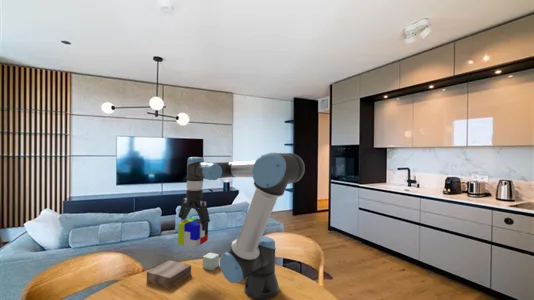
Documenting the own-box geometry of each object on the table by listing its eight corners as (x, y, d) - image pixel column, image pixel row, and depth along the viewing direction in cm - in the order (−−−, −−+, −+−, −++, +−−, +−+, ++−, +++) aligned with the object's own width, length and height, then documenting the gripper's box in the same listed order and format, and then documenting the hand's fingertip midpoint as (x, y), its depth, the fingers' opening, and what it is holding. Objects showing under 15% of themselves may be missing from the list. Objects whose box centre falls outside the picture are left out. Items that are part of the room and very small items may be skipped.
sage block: (218, 265, 135) (219, 254, 135) (211, 270, 130) (212, 258, 130) (209, 263, 138) (210, 252, 138) (202, 268, 132) (202, 256, 132)
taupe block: (190, 275, 125) (191, 265, 125) (169, 289, 112) (170, 278, 112) (169, 269, 130) (169, 260, 130) (146, 282, 118) (146, 271, 118)
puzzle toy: (196, 247, 116) (196, 226, 116) (177, 244, 119) (178, 223, 119) (207, 240, 126) (208, 220, 126) (190, 237, 129) (191, 217, 129)
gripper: (218, 190, 120) (217, 236, 120) (182, 185, 131) (181, 228, 131) (208, 193, 113) (206, 241, 114) (171, 187, 124) (169, 232, 124)
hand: (193, 234), depth 122 cm, fingers closed on puzzle toy, 11 cm apart
